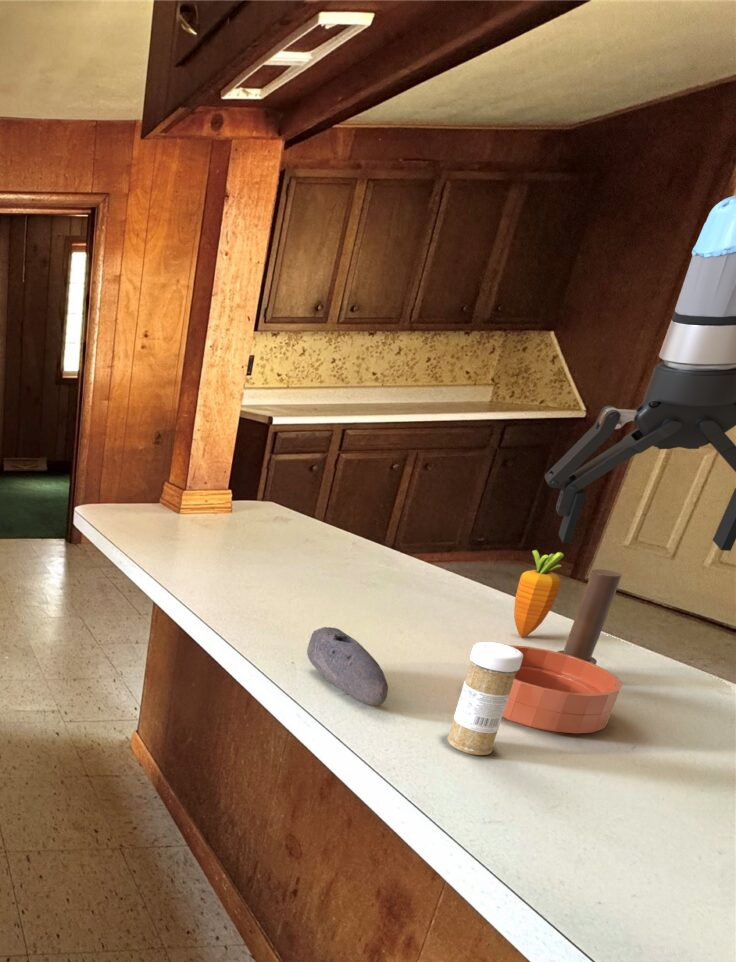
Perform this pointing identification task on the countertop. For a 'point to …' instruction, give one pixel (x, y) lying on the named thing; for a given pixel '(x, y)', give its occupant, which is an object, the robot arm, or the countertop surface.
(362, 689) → the perforated stone tool
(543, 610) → the carrot
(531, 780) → the countertop surface
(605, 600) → the brown pestle
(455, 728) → the sprinkles bottle
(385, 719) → the countertop surface
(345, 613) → the countertop surface
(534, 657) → the bowl
